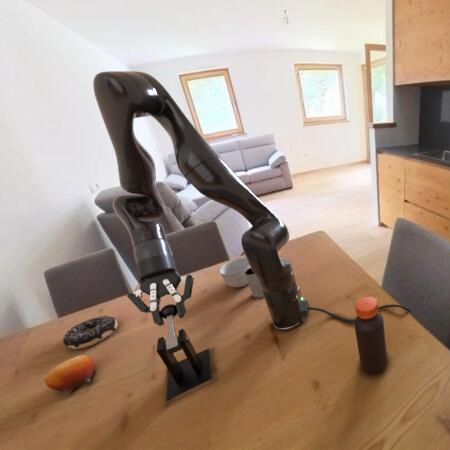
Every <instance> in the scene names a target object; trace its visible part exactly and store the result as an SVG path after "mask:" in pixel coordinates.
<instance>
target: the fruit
mask: <svg viewBox="0 0 450 450" xmlns="http://www.w3.org/2000/svg"><path fill="white" fill-rule="evenodd" d="M94 370H95V363H94V359H93V357H92V356H90V355H85V354H83V355H77V356H74V357H72V358H70V359H67V360H65V361H62V362H61V363H59V364H58V365H56V366H54V367H53V368H51V370H49V372H48V373H47V374H46V375H45V377H44V378H43V382H44V383H45V385H46V386H47V387H48V388H49V389H51V390H52V391H55V392H59V393H61V394H62V393H67V394H68V393H69V394H71V393H72V392H73V390H75V388H77V387H79V386H81V385H83V384H85V383H93V381H92V380H91V378H92V377H93V374H94Z"/></svg>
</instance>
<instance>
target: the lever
mask: <svg viewBox="0 0 450 450" xmlns="http://www.w3.org/2000/svg"><path fill="white" fill-rule="evenodd" d="M160 311H161V312H160V314H161V316H162V317H163V319H165V320H166V321H167V330H168V331H167V332H168V338H165V341H166V350H167V351H168V352H169V353H170V354H172V353H173V354H174V353H177V352H179V351H181V350H182V348H181V346H180V344H179V343H178V336H179V335H177V331H176V323H175V317H176V316H177V315H178V311H177V308H176V304H173V303H168V304H166V305H164V306H163V307H161V309H160ZM182 351H183V350H182Z"/></svg>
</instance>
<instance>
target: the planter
mask: <svg viewBox="0 0 450 450" xmlns="http://www.w3.org/2000/svg"><path fill="white" fill-rule="evenodd" d="M245 275H246V278H247V281H248V284H247V285H248V287H249V290H250V292H251V295H252V297H254V298H258V299H259V300H260V299H263V298H264V295H263V292H262V289H261V286H260V283H259V280H258V277H257V276H256V275H255V274H254V272H253V271H252V269H251V268H249V269H248V270H246V271H245Z"/></svg>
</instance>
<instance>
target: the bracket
mask: <svg viewBox="0 0 450 450" xmlns="http://www.w3.org/2000/svg"><path fill="white" fill-rule="evenodd" d="M177 336H178V343H179V344H180V346H181V348H182V351H183V353H184V355H185V357H186V358H184V359H182V360H178V359H177V358H176V356H175V354H174V353H172V354H170V353H169V352H168V351H167V350H166V338H164V336H161V337H159V338H157V344H156V352H157V354H158V356H159V357H160V360H161V361H162V362H163V364H164V366H165V367H166V368H167V371H168V372H167V387H166V401H167V402H168V401H170V400H173V398H177V396H180V395H182V394H184V393H186V392H188V391H190V390H192V389H194V388H196V387H198V386H200V385H203V384H204V383H206V382H208V381H210V380H212V379H213V376H212V365H211V355H210V353H211V352H210V348H206V349H204V350H202V351H200V352H197V351H196V348H195V347H194V345H193V344H192V341H191V340H190V339H191V338H190V336H189V335H188V334H187V333H186V330H185V329H184V328H181V329H179V330H178V335H177Z"/></svg>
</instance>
